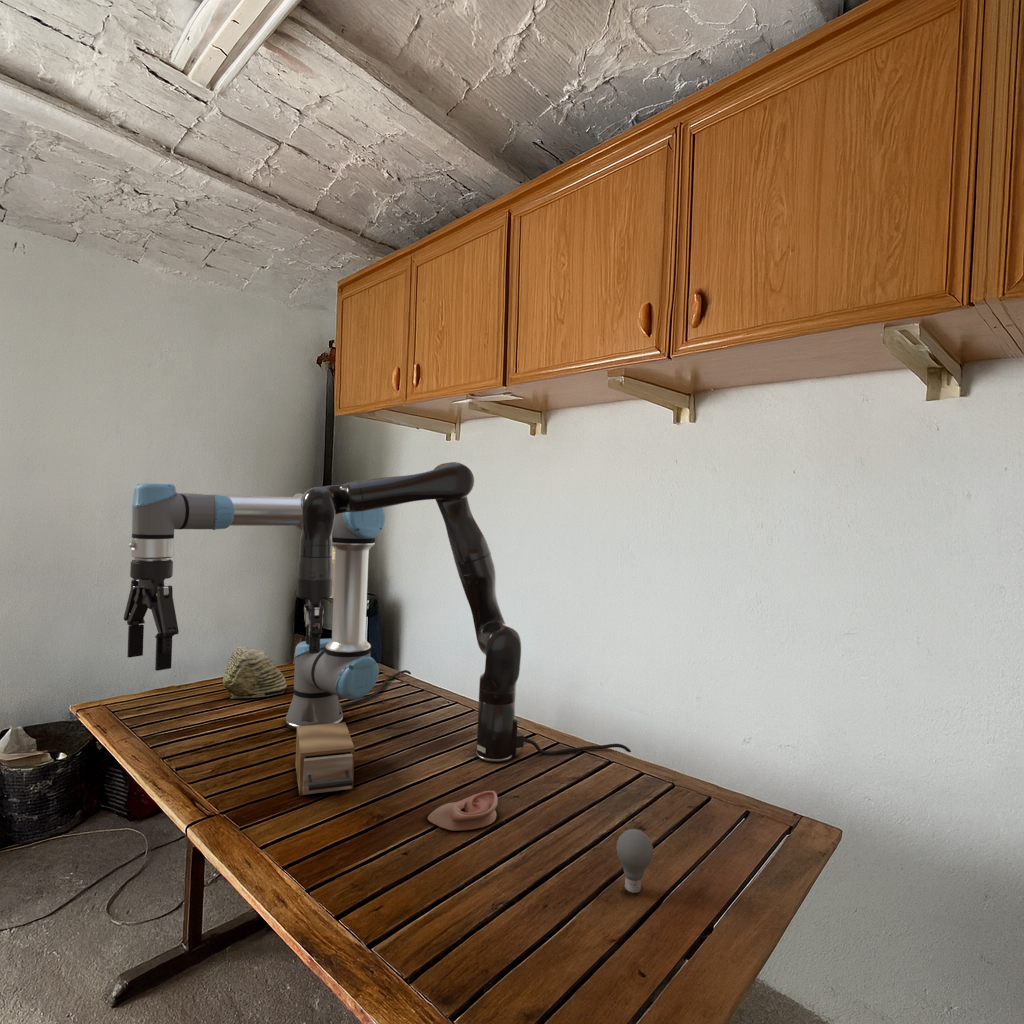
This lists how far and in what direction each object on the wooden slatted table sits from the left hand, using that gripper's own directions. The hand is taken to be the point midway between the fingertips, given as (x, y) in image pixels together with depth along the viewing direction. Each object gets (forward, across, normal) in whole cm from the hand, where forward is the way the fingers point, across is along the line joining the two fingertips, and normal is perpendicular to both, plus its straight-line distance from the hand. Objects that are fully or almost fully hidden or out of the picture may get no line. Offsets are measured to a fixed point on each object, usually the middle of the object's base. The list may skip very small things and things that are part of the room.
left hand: (148, 662), depth 129 cm
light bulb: (+28, +90, +41) cm, 103 cm away
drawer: (+27, +22, +28) cm, 45 cm away
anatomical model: (+28, +53, +39) cm, 71 cm away
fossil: (+28, -47, +50) cm, 74 cm away
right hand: (-1, +15, +28) cm, 32 cm away
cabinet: (+28, +17, +31) cm, 45 cm away
